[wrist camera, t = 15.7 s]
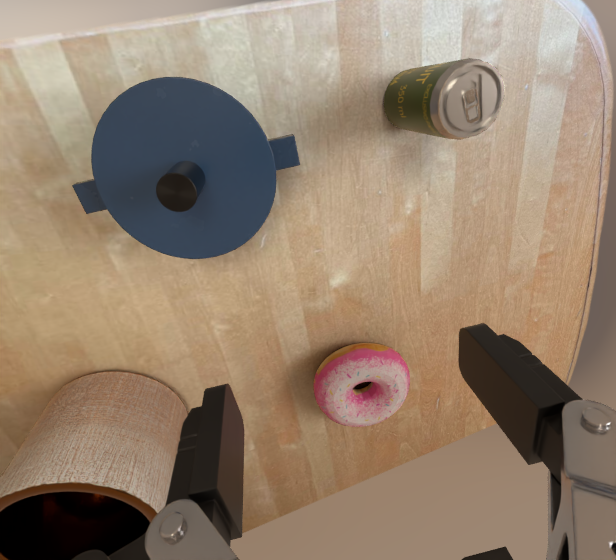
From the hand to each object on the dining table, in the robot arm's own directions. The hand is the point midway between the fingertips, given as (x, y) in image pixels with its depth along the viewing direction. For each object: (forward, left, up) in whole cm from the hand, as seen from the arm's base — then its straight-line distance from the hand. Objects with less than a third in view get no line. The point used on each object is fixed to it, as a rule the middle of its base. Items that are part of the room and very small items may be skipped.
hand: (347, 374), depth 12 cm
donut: (+29, +5, -30) cm, 42 cm away
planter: (+26, -28, -30) cm, 48 cm away
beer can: (-6, +14, -30) cm, 33 cm away
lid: (-4, -7, -21) cm, 23 cm away
